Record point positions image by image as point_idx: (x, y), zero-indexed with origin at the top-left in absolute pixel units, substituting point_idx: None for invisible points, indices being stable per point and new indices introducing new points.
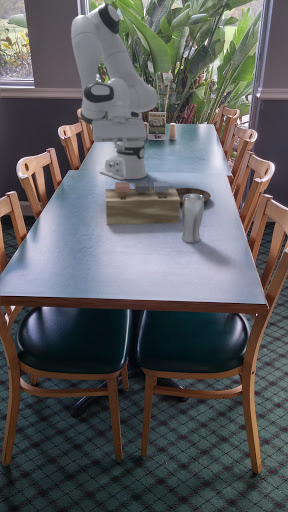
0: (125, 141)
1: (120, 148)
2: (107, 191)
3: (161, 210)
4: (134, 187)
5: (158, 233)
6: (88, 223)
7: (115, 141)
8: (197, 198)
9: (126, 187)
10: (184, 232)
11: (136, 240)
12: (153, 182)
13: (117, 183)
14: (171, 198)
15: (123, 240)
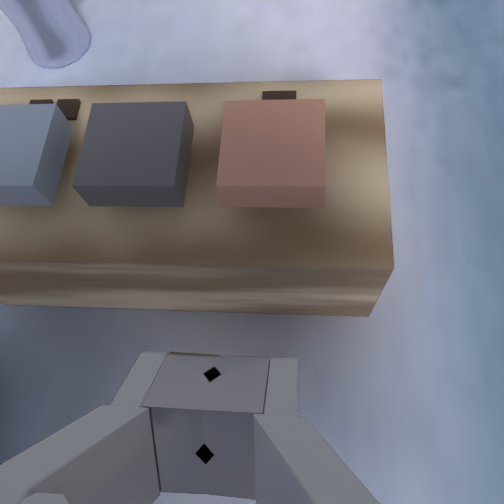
0: (17, 471)
1: (215, 359)
2: (377, 222)
3: None
4: (185, 188)
5: None
6: (451, 181)
7: (319, 498)
8: None
9: (248, 104)
10: (72, 8)
11: (249, 41)
12: (37, 181)
13: (307, 157)
14: (11, 101)
15: (297, 41)
